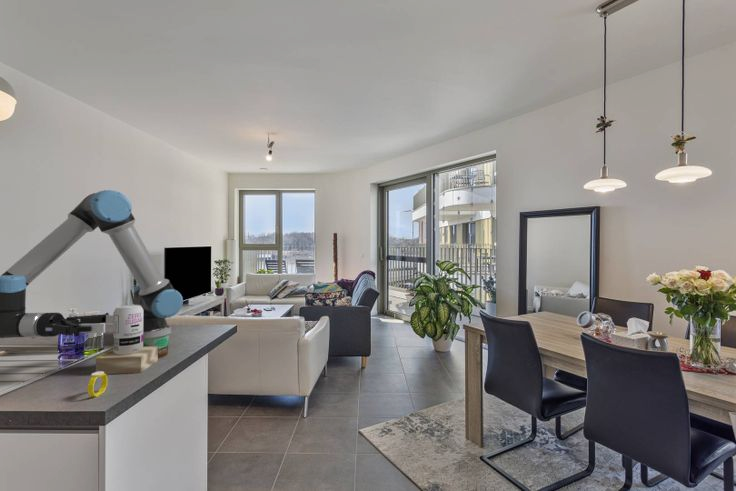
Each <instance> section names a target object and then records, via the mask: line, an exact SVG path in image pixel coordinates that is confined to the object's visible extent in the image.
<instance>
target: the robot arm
mask: <svg viewBox="0 0 736 491" xmlns="http://www.w3.org/2000/svg"><path fill="white" fill-rule="evenodd" d="M132 209H133V208H132V203H131V202H130V199H129V198H128V197H127V195H125V194H123V193H122V192H119V191H118V190H117V191H116V190H111V189H110V190H109V189H107V190H100V191H98V192H93V193H91V194H89V195H87V196H85V198H83V200H81V201H80V202H79V204H77V206H75V207H74V208H73V210H71V211H70V212H69V213H68V214H67V218H66V220H64V221H63V222H62V223H61V224H60V225H59V226H57V227H56V228H55V229H54V230H53V231H52V232H50V233H49V234H48V235H47V236H46V237H45V238H43V239H42V240H40V242H39V243H37V244H36V245H35V246H34V247H33V248H32V249H30V250H29V251H28V252H27V253H25V254H24V255H23V256H22V257H21V258H19V259H18V260H17V261H16V262H15V263H14V264H13V265H11V266H10V267H9V268H7V270H6V271H5V272H3V273H2V274H1V275H0V339H8V338H11V339H12V338H31V339H32V340H34V339H35V338H41V337H43V338H45V337H46V338H49V337H57V336H58V335H62V336H63V335H64V336H74V337H79V336H80V334H103V333H104V334H105V333H106V324H113V314H110V313H109V312H106V313H104V314H92V315H76V316H67V317H64V316H63V314H62V313H61V312H26V309H27V308H26V296H27V295H26V294H27V287H28V286H29V285H30V284H31V283H32V282H34V280H35V279H37V278H38V277H39V276H40V275H41V274H42V273H43V272H45V270H47V268H49V267H50V266H51V265H52V264H53V263H54V262H56V261H57V260H58V259H59V258H60V257H61V256H62V255H63V254H65V253H66V252H67V251H68V250H69V249H70V248H71V247H72V246H74V245H75V244H76V243H77V242H78V241H79V240H80V239H81V238H83V237H84V236H85V235H86V234H87V233H90V232H91V233H92V232H94V231H95V230H96V229H97V228H98V229H99V230H100V232H101V233H102V234H103V233H104V234H106V235H108V236H109V238H110V239H111V241H112V243H113V245H114V247H115V248H116V250H117V251H118V253H119V255H120V256H121V257H122V260H123V261H124V263H125V264H126V266H127V268H128V269H129V271H130V273H131V274H132V277H133V278H134V280H135V281H136V283H137V285H135V286H134V288H133V305H141V307H142V308H143V332H149V331H151V330H153V329H160V328H163V327H164V325H168V322H167V320H166V319H169V318H171V317H174V316H175V315H177V314H178V313H179V312H180V310H181V309H182V307H183V303H184V299H183V298H184V297H183V296H182V294H181V292H179V291H178V290H176V289H175V288H174V286H173V285H172V283H171V281H170V279H168V278H164V277H163V276H162V274H161V272H160V270H159V268H158V266H157V264H156V263H155V261H154V260H153V258H152V256H151V254H150V253H149V250H148V248H147V247H146V245H145V243H144V242H143V240H142V238H141V237H140V235H139V232H138V230H137V229H136V228H135V226H134V224H135V221H136V218H135V216H134V215H133V213H132Z"/></svg>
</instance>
